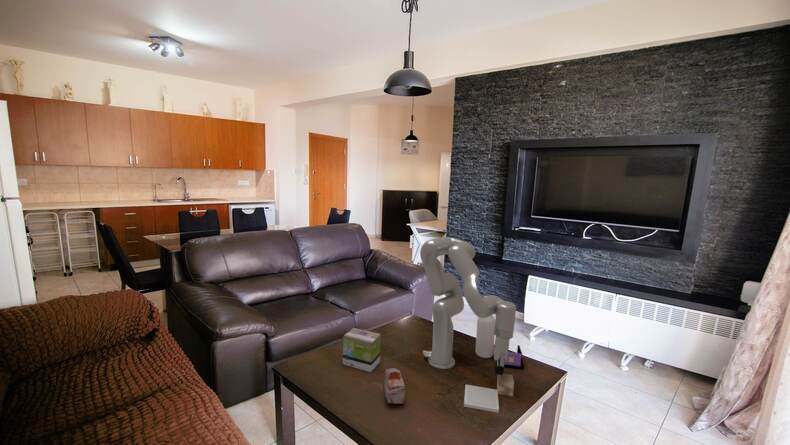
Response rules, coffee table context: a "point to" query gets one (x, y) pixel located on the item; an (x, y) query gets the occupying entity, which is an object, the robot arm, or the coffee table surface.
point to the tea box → (361, 349)
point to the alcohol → (485, 336)
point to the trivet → (481, 398)
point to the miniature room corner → (514, 360)
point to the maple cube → (505, 384)
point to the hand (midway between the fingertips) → (498, 372)
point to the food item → (394, 386)
